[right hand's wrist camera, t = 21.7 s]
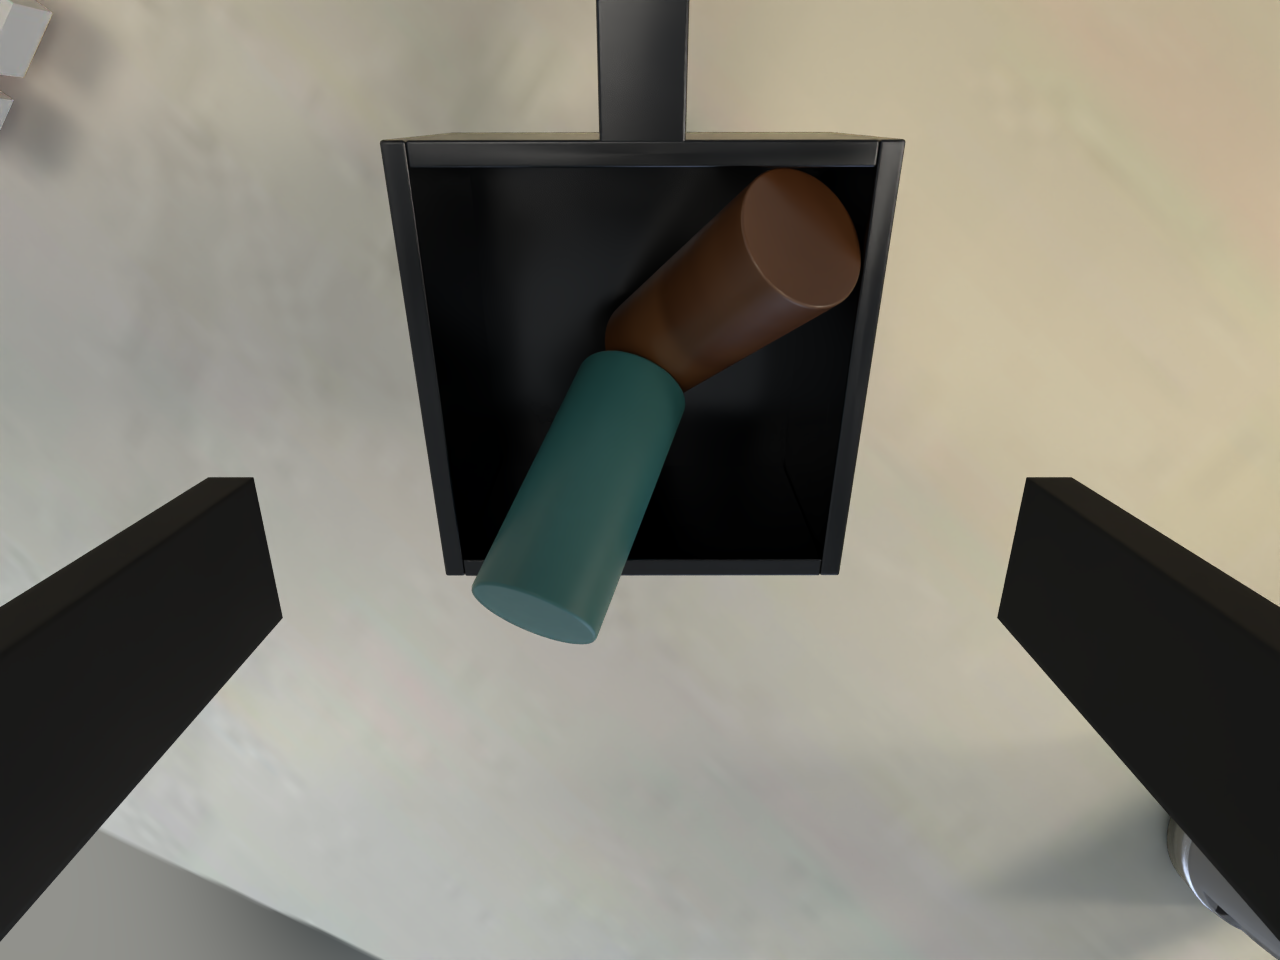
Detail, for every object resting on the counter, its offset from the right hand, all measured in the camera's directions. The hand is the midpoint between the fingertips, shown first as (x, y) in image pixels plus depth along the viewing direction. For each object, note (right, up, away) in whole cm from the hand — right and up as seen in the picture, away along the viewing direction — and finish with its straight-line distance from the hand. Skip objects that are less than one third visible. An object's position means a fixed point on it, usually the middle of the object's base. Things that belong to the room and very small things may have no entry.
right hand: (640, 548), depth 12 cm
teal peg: (0, +4, +10) cm, 11 cm away
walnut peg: (0, +6, +12) cm, 13 cm away
